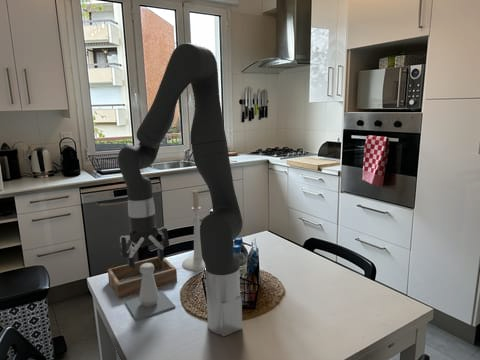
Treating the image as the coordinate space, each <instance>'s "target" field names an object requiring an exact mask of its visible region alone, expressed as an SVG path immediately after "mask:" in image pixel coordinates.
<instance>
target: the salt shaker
mask: <svg viewBox="0 0 480 360" xmlns="http://www.w3.org/2000/svg"><path fill="white" fill-rule="evenodd" d="M154 272H155V271H154V265H153V264H152V263H144V264H142V265H141V266H140V273H141V274H142V275H141V277H142V281H141V288H140V293H139V296H138V297H139V299H140V301H141V303H142V305H143V306H145V307H151V306H154V305H155V304H156V303H157V300H158V297H159V294H158V291H159V290H158V288H157V287H156V283H155V279H154V275H153V274H154Z"/></svg>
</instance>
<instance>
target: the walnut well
mask: <svg viewBox="0 0 480 360" xmlns="http://www.w3.org/2000/svg"><path fill="white" fill-rule="evenodd" d="M162 260H163V261H162V262H160V261H159V260H158V256H154V257H151V258H146V259H143V260H138V261H134V264H135V269H132V268H130V267H129V265H128V263H127V264H124V265H123V264H122V265H119V266H115V267H111V268H108V269H107V275H108V277H107V278H108V284H109V285H110V286H111V289H112V290H113V291H114V293H115V295H116V297H117V298H118V300H123V299H126V298H130V297H132V296H133V297H134V296H136V295H140V288H141V281H142V274H141V273H140V266H141V265H142V264H144V263H152V264H153V265H154V272H156V271H159V270H160V271H159V272H156V273H153V275H154V279H155V283H156V287H157V289H159V288H161V287H165V286H169V285H173V284H175V283H178V273H177V272H178V271H177V268H176V267H175V266H174V265H173V264H172V263H171V262H170V261H169V260H167V258H165V257H164V259H162ZM138 276H141V277H138ZM135 277H136V278H135ZM137 277H138V278H137ZM130 278H131V279H130ZM132 278H133V279H132ZM127 279H130V280H127ZM124 280H127V281H124ZM120 281H123V282H120Z"/></svg>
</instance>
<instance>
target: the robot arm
mask: <svg viewBox="0 0 480 360" xmlns="http://www.w3.org/2000/svg"><path fill="white" fill-rule="evenodd" d="M190 84H191V85H190ZM189 85H190V86H191V89H192V93H193V100H194V113H193V118H192V122H191V123H192V124H191V129H190V135H189V136H190V145H191V151H192V157H193V163H194V164H195V167H196V169H197V171H198V172H199V174H200V176H201V178H202V179H203V181H204V182H205V185H207V189H208V191H209V193H210V199H211V204H212V205H211V207H212V212H210V213H208V214H207V215H205V217H203V218H202V220H201V222H200V242H201V252H202V258H203V261H204V263H205V268H206V270H205V285H206V286H205V288H206V313H207V314H206V315H207V327H208V330H209V331H210V332H212V333H214V334H217V335H220V336H222V337H226V336H228V335H229V336H230V335H231V334H233V333H235V332H238V331H241V330H242V329H243V304H242V303H243V301H242V296H241V287H240V286H241V282H240V281H241V278H240V277H241V276H240V266H241V265H240V258H239V256H238V255H237V254H236V253H234V246H233V245H234V244H233V241H234V240H235V239H237V238H238V236H239V235H241V232H242V231H243V226H244V225H243V222H244V221H243V217H242V213H241V209H240V206H239V203H238V198H237V194H236V190H235V186H234V185H235V184H234V179H233V173H232V168H231V163H230V153H229V152H230V151H229V147H228V140H227V136H226V130H225V125H224V118H223V111H222V107H221V99H220V98H221V96H220V85H219V69H218V62H217V59H216V56H215V55H214V53H213V52H212V51H211V50H210V49H209V48H207V47H205V46H202V45H198V44H195V43H191V42H183V43H181V44H178V45H177V46H176V47H175V49H174V50H173V51H172V53H171V54H170V57H169V60H168V61H167V65H166V68H165V70H164V73H163V76H162V79H161V81H160V83H159V86H158V89H157V92H156V95H155V97H154V99H153V102H152V103H151V105H150V107H149V109H148V111H147V113H146V115H145V116H144V118H143V120H142V122H141V123H140V124H139V127H138V129H137V130H136V131H137V132H136V139H137V141H138V144H134V145H128V146H123V147H122V148H121V149H120V150H119V152H118V155H117V164H118V168H119V171H120V173H121V175H122V178H123V182H124V183H125V185H126V193H127V194H126V195H127V209H128V210H127V214H128V222H129V231H130V233H129V235H120V236H119V254H120V255H121V257H123V258H127V264H128V265H129V267H130V268H132V269H135V264H134V262H135V257H134V256H135V254H136V252H137V251H138V250H139V248H145V247H149V246H152V244H154V245H155V246H156V247H157V248H156V250H157V251H156V252H157V257H158V260H159V261H160V262H162V261H163V260H162V259H164V258H165V251H164V249H165V248H167V247H170V240H169V232H168V228H167V227H165V226H160V228H157V221H156V219H157V217H156V209H155V201H154V197H153V196H154V195H153V184H152V180H151V179H150V178H149V177H146V176H143V175H142V173H141V170H142V169H147V168H149V167H151V166H152V165H153V164H154V162H155V161H156V159H157V156H158V153H159V150H160V147H161V143H162V141H163V140H164V138H165V137H166V135H167V133H168V132H169V130H170V129H171V126H172V125H173V122H174V120H175V113H176V108H177V103H178V100H179V99H180V97H181V96H182V94H183V92H184V91H185V90H186V88H187V87H188V86H189ZM158 235H161V240H162V242H161V243H160V241H158V239H156V238H157V236H158ZM129 240H130V241H131V244H129V245H130V246H129V249H127V244H128V243H129Z"/></svg>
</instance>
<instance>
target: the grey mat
mask: <svg viewBox="0 0 480 360" xmlns="http://www.w3.org/2000/svg"><path fill="white" fill-rule="evenodd" d="M158 294H159V297H158V300H157V303H156V304H155V305H154V306H151V307H145V306H143V305H142V303H141V301H140V299H139V296H137V297H133V298H130V299H127V300H124V304H125V305H126V307H127V309H128V310H129V312H130V313H131V315H132V317H133V318H134V320H135V322H139V321H141V320H143V319H148V318H149V317H153V316H156V315H159V314H161V313H164V312H167V311H170V310H174V309H176V305H175V304H174V303H173V302H172V301H171V300H170V298H169V297H168V296H167V294H165V292H164V291H163V290H162V289H160V290H158Z"/></svg>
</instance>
